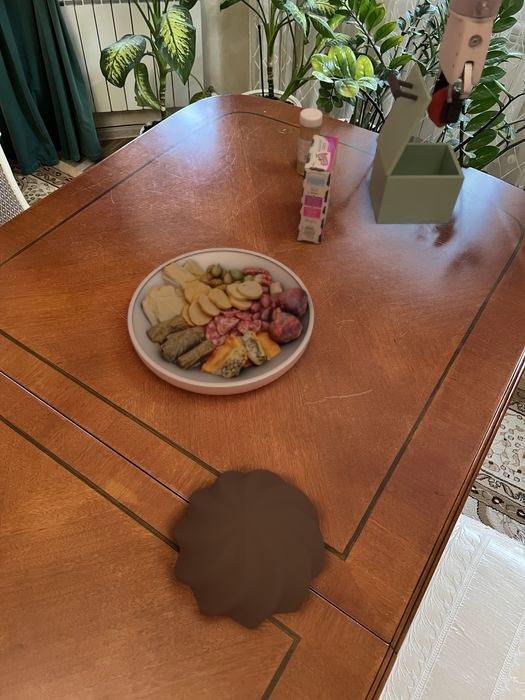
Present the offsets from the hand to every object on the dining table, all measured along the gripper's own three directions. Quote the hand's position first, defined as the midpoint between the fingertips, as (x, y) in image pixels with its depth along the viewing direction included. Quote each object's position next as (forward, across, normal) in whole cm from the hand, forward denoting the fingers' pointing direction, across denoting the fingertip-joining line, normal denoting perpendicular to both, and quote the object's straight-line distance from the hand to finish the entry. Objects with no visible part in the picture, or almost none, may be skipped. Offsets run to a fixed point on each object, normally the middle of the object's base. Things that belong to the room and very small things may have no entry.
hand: (443, 111), depth 102 cm
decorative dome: (+21, -69, +36) cm, 81 cm away
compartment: (+21, 0, +2) cm, 21 cm away
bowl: (+21, -33, +40) cm, 56 cm away
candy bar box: (+21, -6, +22) cm, 31 cm away
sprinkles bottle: (+21, +12, +22) cm, 33 cm away
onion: (+3, 0, 0) cm, 3 cm away
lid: (+2, 0, +7) cm, 7 cm away
